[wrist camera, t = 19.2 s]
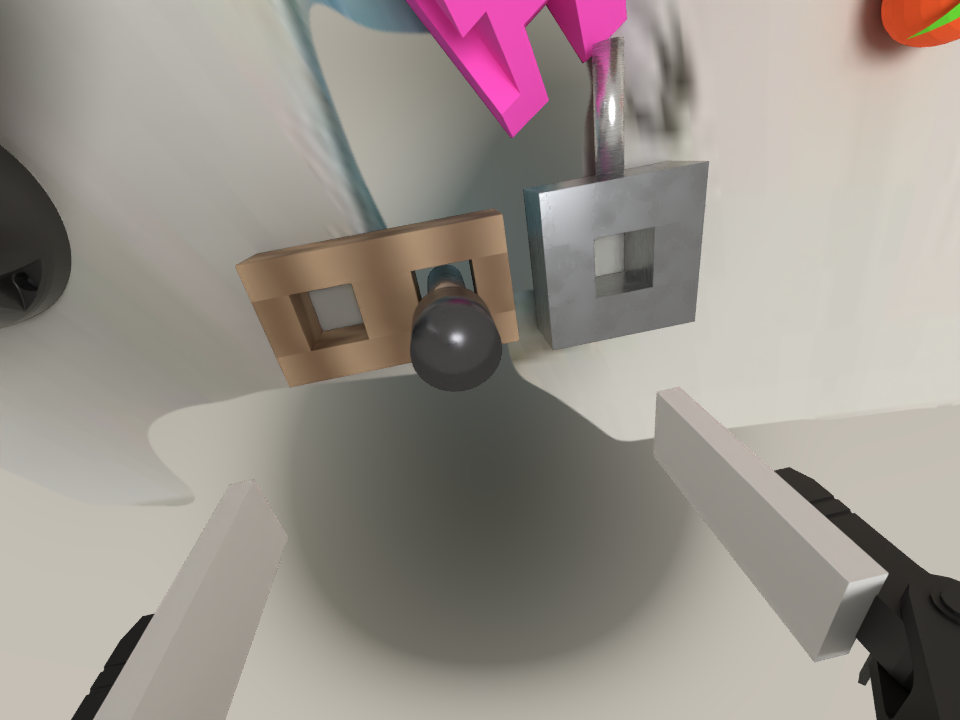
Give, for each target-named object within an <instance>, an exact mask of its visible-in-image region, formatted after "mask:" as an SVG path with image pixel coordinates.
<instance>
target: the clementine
mask: <svg viewBox="0 0 960 720" xmlns="http://www.w3.org/2000/svg"><path fill="white" fill-rule="evenodd" d="M881 18H882V22H883V26H884V28H885V29H886V31H887V32H888V34H889V35H890V37H891V38H892V39H894V40H895V41H897V42H898V43H900V44H904V45H907V46H912V47H932V46H937V45H942V44H946V43H949V42H951V41H954V40H957V39H960V0H883V1H882V6H881Z"/></svg>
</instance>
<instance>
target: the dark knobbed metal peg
mask: <svg viewBox="0 0 960 720" xmlns="http://www.w3.org/2000/svg"><path fill="white" fill-rule="evenodd" d="M501 355H502V342H501V337H500V335H499V332H498V330H497V327H496V325H495V323H494V320H493V318H492V316H491V313H490V311H489V309H488V307H487V305H486V303H485V302H484V301H483V299H482V298H481V297H480V296H479V295H477V294H476V293H475V292H473V291H471V290H469V289H466V288H465V285H464V282H463V278H462V276H461V274H460V272H459V270H457V269H456V268H455V267H453V266H451V265H447V264H445V265H440V266H437V267H435V268H434V269H433V270H432V271H431V272H430V274H429V276H428V294H427V295H426V296H425V297H424V298H423V299H422V300H421V301H420V302H419V304H418V305H417V307H416V309H415V311H414V314H413V319H412V331H411V343H410V357H411V362H412V364H413V367H414V369H415V371H416V372H417V374H418V375H419V376H420V377H421V378H422V379H423V380H424V381H425V382H426V383H428V384H430V385H431V386H433V387H435V388H438V389H441V390H445V391H453V392H454V391H465V390H469V389H472V388H474V387H477V386H479V385H480V384H482V383H483V382H485V381H486V380H487V379H488V378H489V377H490V376H491V375H492V374H493V373H494V371H495V370H496V368H497V367H498V365H499V362H500V359H501Z"/></svg>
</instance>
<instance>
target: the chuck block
mask: <svg viewBox="0 0 960 720" xmlns="http://www.w3.org/2000/svg"><path fill="white" fill-rule="evenodd" d="M592 72H593V106H594V141H595V175H594V176H589V177H583V178H578V179H573V180H568V181H563V182H557V183H552V184H547V185H542V186H536V187H531V188H526V189H523V192H524V202H525V212H526V220H527V231H528V240H529V249H530V258H531V268H532V277H533V287H534V296H535V305H536V315H537V324H538V329H539V330H540V331H541V333H542V334H543V336H544V337H545V339H546V340H547V342H548V343H549V345H550V346H551V348H552V349H553V350H557V349H562V348H567V347H572V346H577V345H582V344H587V343H591V342H596V341H601V340H606V339H611V338H616V337H621V336H626V335H630V334H635V333H640V332H645V331H650V330H655V329H660V328H664V327H669V326H674V325H679V324H684V323H689V322H694V321H695V312H696V301H697V290H698V279H699V268H700V256H701V245H702V234H703V223H704V212H705V200H706V189H707V178H708V167H709V161H667V162H662V163H657V164H651V165H646V166H641V167H636V168H630V169H625V170H624V37H616V38H611V39H606V40H603V41H600V42H597V43H595V44H593V45H592ZM620 233H625V271H624V272H619V273H614V274H609V275H604V276H599V277H595V261H594V238H599V237H604V236H610V235H615V234H620Z"/></svg>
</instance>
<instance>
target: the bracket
mask: <svg viewBox="0 0 960 720" xmlns="http://www.w3.org/2000/svg"><path fill="white" fill-rule="evenodd" d="M406 2H407V3H408V4H409V5H410V7H411V8H412V9H413V11H414V12H415V13H416V15H417V16H418V17H419V19H420V20H421V21H422V22H423V24H424V25H425V26H426V28H427V29H428V30H429V32H430V33H431V35H432V36H433V37H434V39H435V40H436V41H437V42H438V44H439V45H440V46H441V48H442V49H443V50H444V52H445V53H446V54H447V56H448V57H449V58H450V59H451V61H452V62H453V63H454V65H455V66H456V67H457V69H458V70H459V71H460V72H461V74H462V75H463V76H464V78H465V79H466V80H467V81H468V83H469V84H470V86H471V87H472V88H473V89H474V91H475V92H476V93H477V95H478V96H479V97H480V98H481V100H482V101H483V102H484V104H485V105H486V106H487V108H488V109H489V110H490V112H491V113H492V114H493V115H494V117H495V118H496V119H497V121H498V122H499V123H500V125H501V126H502V127H503V129H504V130H505V131H506V132H507V134H508V135H509V136H510V138H513V137H514V136H515V135H516V134H517V133H518V132H519V131H520V130H521V128H523V126H524V125H525V124H526V123H527V122H528V121H529V120H530V119H531V118H532V117H533V116H534V115H535V114H536V113H537V112H538V111H539V110H540V109H541V108H542V107H543V106H544V105H545V104H546V103H547V102H548V101H549V99H548V96H547V93H546V90H545V87H544V84H543V81H542V78H541V75H540V72H539V69H538V66H537V63H536V60H535V57H534V54H533V51H532V48H531V45H530V41H529V38H528V35H527V32H526V29H525V27H526V26H527V25H528V24H529V23H530V22H531V21H532V20H533V18H534V17H535V16H536V15H537V14H538V13H539V12H540V11H541V9H542V8H543V7H544V6H545V5H546V6H547V8H548V9H549V11H550V12H551V14H552V16H553V17H554V19H555V21H556V22H557V24H558V25H559V27H560V28H561V30H562V32H563V33H564V35H565V36H566V38H567V40H568V41H569V43H570V44H571V46H572V48H573V49H574V51H575V52H576V54H577V56H578V57H579V59H580V60H581V62H582V63H584V62H586V61H587V60H588V59H589V58H590V57H591V56H592V45H593V44H595V43H597V42H600V41H603V40H606V39H608V38H609V37H610V36H611V35H612V34H613V33H614V32H615V31H616V30H617V29H618V28H619V27H620V26H621V25H622V24H623V23H624V22H625V21H626V20H627V15H626V0H406Z"/></svg>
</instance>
